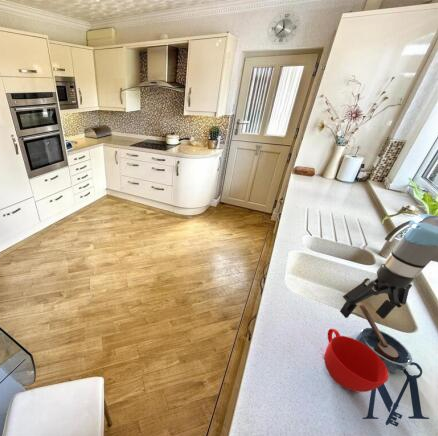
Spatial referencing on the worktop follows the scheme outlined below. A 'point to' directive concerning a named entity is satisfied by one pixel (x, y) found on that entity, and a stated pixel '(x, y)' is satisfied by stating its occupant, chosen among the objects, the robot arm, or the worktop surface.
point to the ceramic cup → (353, 364)
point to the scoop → (380, 339)
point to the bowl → (404, 356)
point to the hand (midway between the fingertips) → (361, 315)
